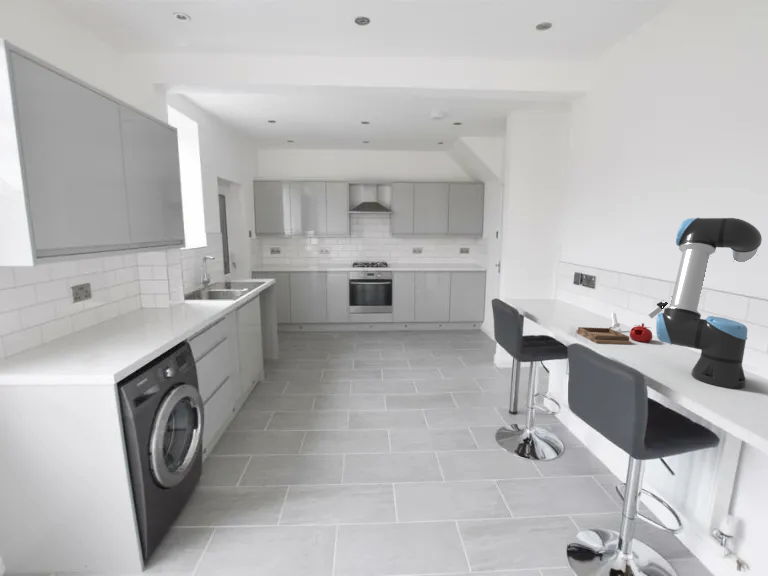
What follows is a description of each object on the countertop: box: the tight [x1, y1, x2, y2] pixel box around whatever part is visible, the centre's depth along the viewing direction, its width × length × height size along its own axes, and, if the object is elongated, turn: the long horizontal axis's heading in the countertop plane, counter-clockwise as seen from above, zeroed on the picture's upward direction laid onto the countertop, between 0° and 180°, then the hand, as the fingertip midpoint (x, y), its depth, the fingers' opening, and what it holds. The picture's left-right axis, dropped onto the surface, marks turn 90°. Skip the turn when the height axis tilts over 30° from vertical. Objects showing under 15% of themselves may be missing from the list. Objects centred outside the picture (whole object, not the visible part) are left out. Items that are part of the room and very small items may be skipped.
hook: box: [606, 312, 622, 333], centre depth 216 cm, size 8×12×7 cm
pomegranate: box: [629, 322, 653, 343], centre depth 195 cm, size 10×10×9 cm
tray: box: [575, 326, 632, 345], centre depth 197 cm, size 20×17×4 cm
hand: (657, 319), depth 194 cm, fingers open, 13 cm apart
